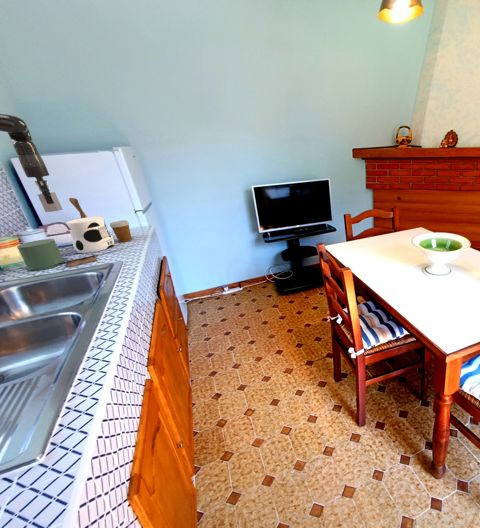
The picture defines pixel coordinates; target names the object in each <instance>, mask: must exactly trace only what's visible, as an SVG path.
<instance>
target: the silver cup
mask: <svg viewBox="0 0 480 528" xmlns="http://www.w3.org/2000/svg"><path fill="white" fill-rule="evenodd" d="M50 193H51V197H52V200H53V202H54V203H53V204H48V203H47V201H46V199H45V197H44V196H43V194H42V193H38V194H37V197H38V199H39V201H40V203H41V205H42V207H43V208H42V209H43V210H44V212H45V213H52V212H59V211H62V210H64V209H63V207H62V205H61V202H60V200H59V198H58V195H57V193H56V192H55V191H54V192H50Z"/></svg>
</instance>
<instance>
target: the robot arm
mask: <svg viewBox="0 0 480 528" xmlns="http://www.w3.org/2000/svg"><path fill="white" fill-rule="evenodd" d="M0 132H5V133H7V134H8V137H9V138H10V140H11V142H12V146H13V149H14V151H15V153H16V155H17V157H18V162H19V164H20V166H21V168H22V170H23V172H24V174H25V176H26V178H35V179H36V180H35V181H34V183H35V185H36V186H37V187H38V191H39V192H41V194H43V196H44V197H45V199H46V201H47V203H48V204H53V203H54V202H53V200H52V197H51V193H52V192H50V191H51V189H50V187H49V183H48V180H45V179H44V177H49V176H50V172H49V171H48V168H47V166H46V163H45V161H44V159H43V157H42V155H41V154H40V151H39V149H38V147H37V146H36V143H35V142H34V140H33V138H32V135H31V132H30V130H29V127H28V124H27V123H26V121H25V120H23V119H22V118H20V117H18V116H15V115H11V114H3V113H0Z"/></svg>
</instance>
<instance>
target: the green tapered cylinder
mask: <svg viewBox="0 0 480 528" xmlns="http://www.w3.org/2000/svg"><path fill="white" fill-rule="evenodd" d="M16 247H17V250H18V252H19V254H20V256H21V257H22V260H23V262H24V263H25V265H26V268H27V269H28V270H27V272H40V271H45V270H50V269H54V268H57V267H59V266H62V265H64V264H65V263H66V261H63V260H64V258H63V256H62V254H61V251H60V249H59V246H58V245H57V243H56V240H55V239H54V238H44V239H38V240H33V241H27V242H24V243H21V244H19V245H17V246H16Z"/></svg>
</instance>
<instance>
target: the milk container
mask: <svg viewBox="0 0 480 528" xmlns="http://www.w3.org/2000/svg"><path fill="white" fill-rule="evenodd" d="M66 226H67V229H68V232H69V234H70V235H71V238H72V245H73V250H75V252H76V253H77V254H79V255H83V254H93V253H98V252H102V251H105V250H109V249H111V248H113V247H114V246H115V240H114V238H113V236H112V235H111V234H110V232H109V230H108V227H107V225H106V222H105V219H104V218H103V216H87V218H81V217H80V218H76V219H72V220H69V221H66Z"/></svg>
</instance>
